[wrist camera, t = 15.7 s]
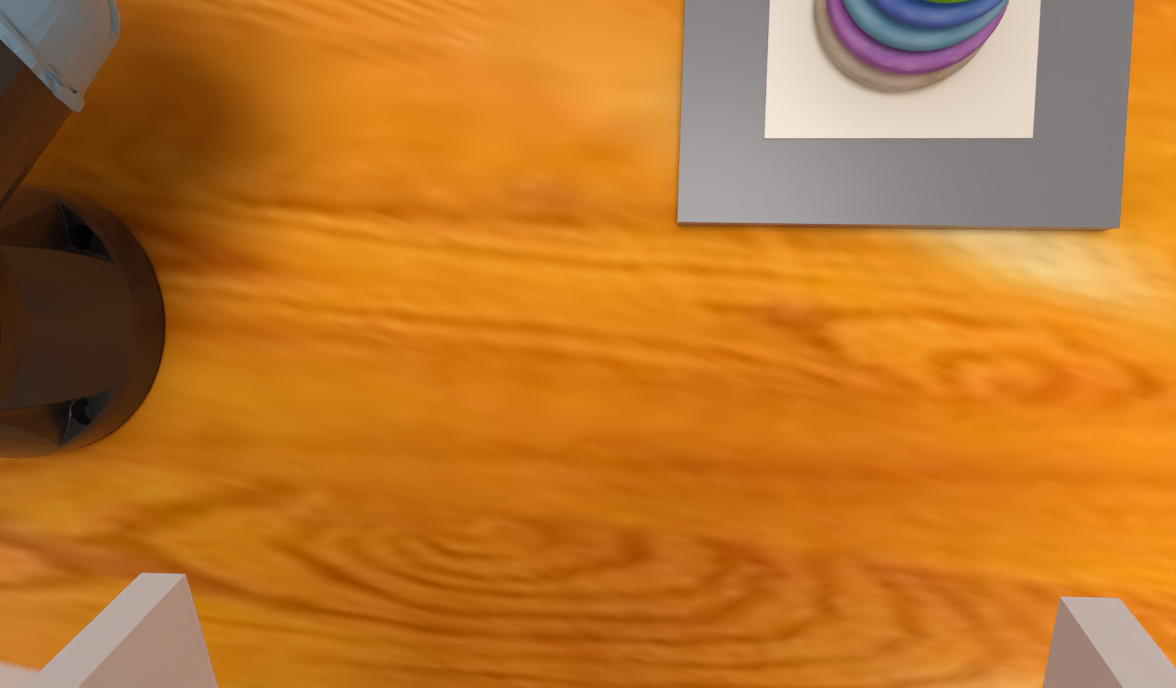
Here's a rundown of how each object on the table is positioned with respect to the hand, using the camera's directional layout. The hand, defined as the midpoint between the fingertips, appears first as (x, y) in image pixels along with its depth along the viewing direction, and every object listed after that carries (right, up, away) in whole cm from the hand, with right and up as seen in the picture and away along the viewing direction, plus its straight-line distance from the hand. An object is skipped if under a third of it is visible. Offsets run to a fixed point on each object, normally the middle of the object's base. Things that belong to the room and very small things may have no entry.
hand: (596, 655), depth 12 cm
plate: (+15, +20, +26) cm, 36 cm away
